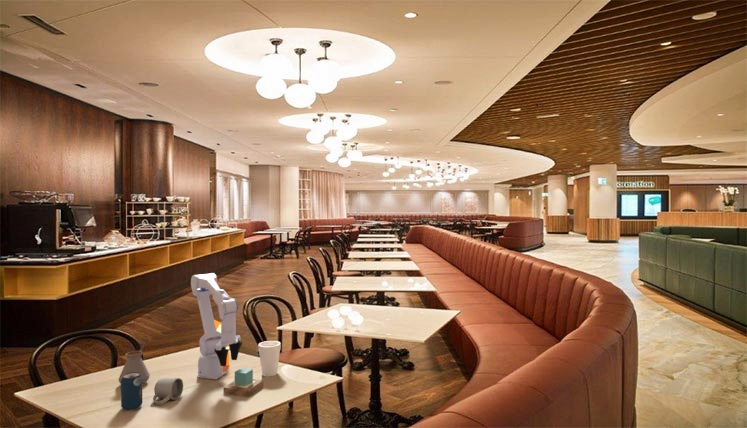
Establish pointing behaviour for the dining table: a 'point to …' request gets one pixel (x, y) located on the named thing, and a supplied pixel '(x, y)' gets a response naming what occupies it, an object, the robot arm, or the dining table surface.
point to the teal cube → (243, 376)
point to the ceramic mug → (168, 389)
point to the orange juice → (218, 328)
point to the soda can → (131, 391)
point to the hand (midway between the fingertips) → (228, 362)
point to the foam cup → (269, 357)
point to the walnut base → (243, 388)
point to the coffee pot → (136, 364)
